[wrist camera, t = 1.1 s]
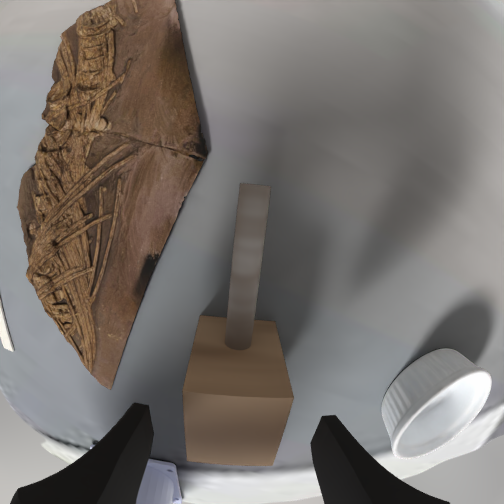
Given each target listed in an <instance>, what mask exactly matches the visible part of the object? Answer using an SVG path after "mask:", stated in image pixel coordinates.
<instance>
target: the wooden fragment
mask: <svg viewBox="0 0 504 504" xmlns="http://www.w3.org/2000/svg"><path fill="white" fill-rule="evenodd" d="M60 37H61V39H62V42H61V44H60V46H59V47H58V53H57V56H56V59H55V61H54V65H53V70H52V78H53V80H54V81H55V83H54V84H53V86H52V87H51V91H50V92H49V93H48V95H47V100H46V102H47V104H46V108H45V110H44V111H43V113H42V119H43V120H46V122H47V123H48V124H49V126H48V127H47V128H46V133H45V137H44V138H43V139H42V140H41V142H40V144H39V146H38V151H37V153H36V156H35V161H36V164H35V165H34V166H33V167H31V168H30V169H29V170H28V171H27V172H25V174H24V175H23V177H22V179H21V185H20V190H19V201H18V206H17V208H18V210H19V215H20V219H21V227H22V230H23V233H24V242H25V244H26V246H27V249H26V251H27V255H28V261H29V267H28V269H27V273H26V277H27V278H28V280H29V282H30V283H31V284H32V285H33V286H34V288H35V290H36V293H37V296H38V298H39V300H41V302H42V304H43V307H44V309H45V312H46V313H47V314H48V315H49V317H51V318H53V320H54V322H55V323H56V325H57V326H58V328H59V330H60V332H61V334H63V335H64V337H65V339H66V340H67V342H69V343H70V344H71V345H72V346H73V347H74V349H75V350H76V352H77V353H78V355H79V357H80V360H81V362H82V363H83V365H84V366H85V367H86V368H87V370H88V371H89V372H90V373H91V374H92V375H93V376H94V377H95V378H96V379H97V381H98V382H99V383H100V384H101V385H103V386H105V387H106V388H108V389H110V390H111V388H112V385H113V381H114V378H115V375H116V372H117V369H118V365H119V362H120V359H121V356H122V353H123V349H124V347H125V344H126V341H127V338H128V336H129V333H130V330H131V327H132V324H133V322H134V318H135V316H136V313H137V311H138V308H139V305H140V303H141V300H142V298H143V295H144V292H145V289H146V285H147V283H148V281H149V279H150V276H151V275H152V271H153V270H154V268H155V264H156V262H157V260H158V258H159V256H160V254H161V251H162V249H163V246H164V244H165V243H166V240H167V237H168V236H169V233H170V231H171V229H172V226H173V224H174V222H175V220H176V218H177V215H178V211H179V208H180V207H181V206H182V202H183V201H184V196H187V194H188V192H189V190H190V188H191V186H192V184H193V182H194V180H195V178H196V176H197V174H198V172H199V170H200V168H201V166H202V164H203V161H204V159H205V158H206V157H207V154H208V151H207V147H206V144H205V140H204V138H203V133H201V126H200V121H199V116H198V112H197V108H196V103H195V99H194V93H193V88H192V83H191V79H190V77H189V70H188V66H187V60H186V55H185V51H184V45H183V40H182V33H181V31H180V24H179V21H178V12H177V11H176V3H175V0H111V1H109V2H108V3H106V4H105V5H103V6H99V7H97V8H95V9H92V10H90V11H86V12H85V13H84V14H82V15H81V16H79V18H78V19H77V20H76V23H75V24H74V25H72V26H71V27H69V28H68V29H67V30H65V31H64V32H63V33H62V34H61V36H60ZM189 155H195V156H197V157H198V158H199V157H201V158H202V159H203V160H202V161H198V160H197V159H198V158H197V159H194V158H192V157H189Z"/></svg>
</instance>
